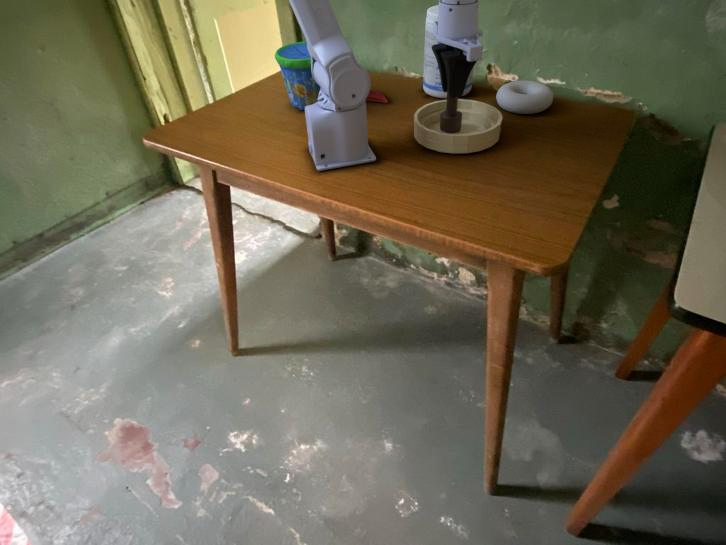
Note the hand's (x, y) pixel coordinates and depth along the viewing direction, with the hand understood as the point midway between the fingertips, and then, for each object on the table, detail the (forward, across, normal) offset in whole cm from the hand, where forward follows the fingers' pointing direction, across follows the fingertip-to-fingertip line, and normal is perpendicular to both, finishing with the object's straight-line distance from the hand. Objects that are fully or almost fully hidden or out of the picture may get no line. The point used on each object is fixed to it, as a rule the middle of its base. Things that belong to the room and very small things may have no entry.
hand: (452, 93), depth 79 cm
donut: (+7, +5, -16) cm, 18 cm away
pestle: (+6, 0, 0) cm, 6 cm away
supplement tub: (+7, +17, -6) cm, 19 cm away
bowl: (+7, -2, 0) cm, 7 cm away
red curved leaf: (+7, +20, +11) cm, 24 cm away
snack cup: (+7, +21, +21) cm, 30 cm away
